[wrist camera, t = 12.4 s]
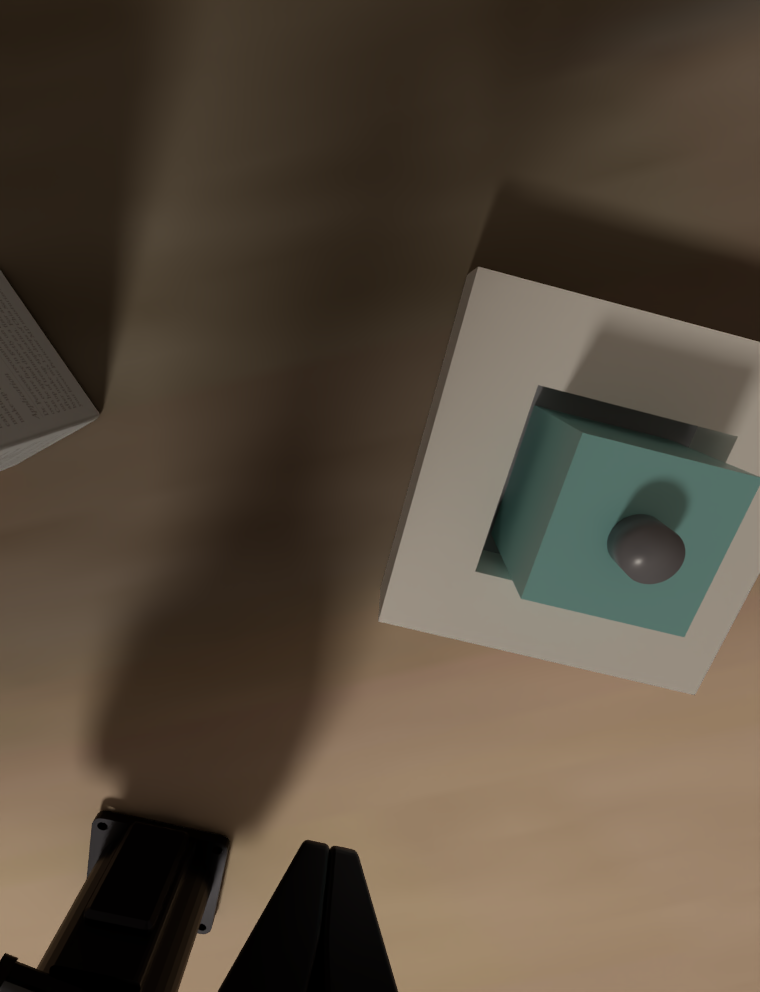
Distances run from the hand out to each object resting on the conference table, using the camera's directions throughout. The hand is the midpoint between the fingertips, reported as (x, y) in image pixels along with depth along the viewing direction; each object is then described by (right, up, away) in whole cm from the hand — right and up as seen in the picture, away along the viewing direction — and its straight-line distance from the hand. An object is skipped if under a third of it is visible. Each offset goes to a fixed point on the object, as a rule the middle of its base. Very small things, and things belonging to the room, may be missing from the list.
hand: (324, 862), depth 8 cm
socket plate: (+8, +6, +11) cm, 15 cm away
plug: (+8, +6, +11) cm, 15 cm away
